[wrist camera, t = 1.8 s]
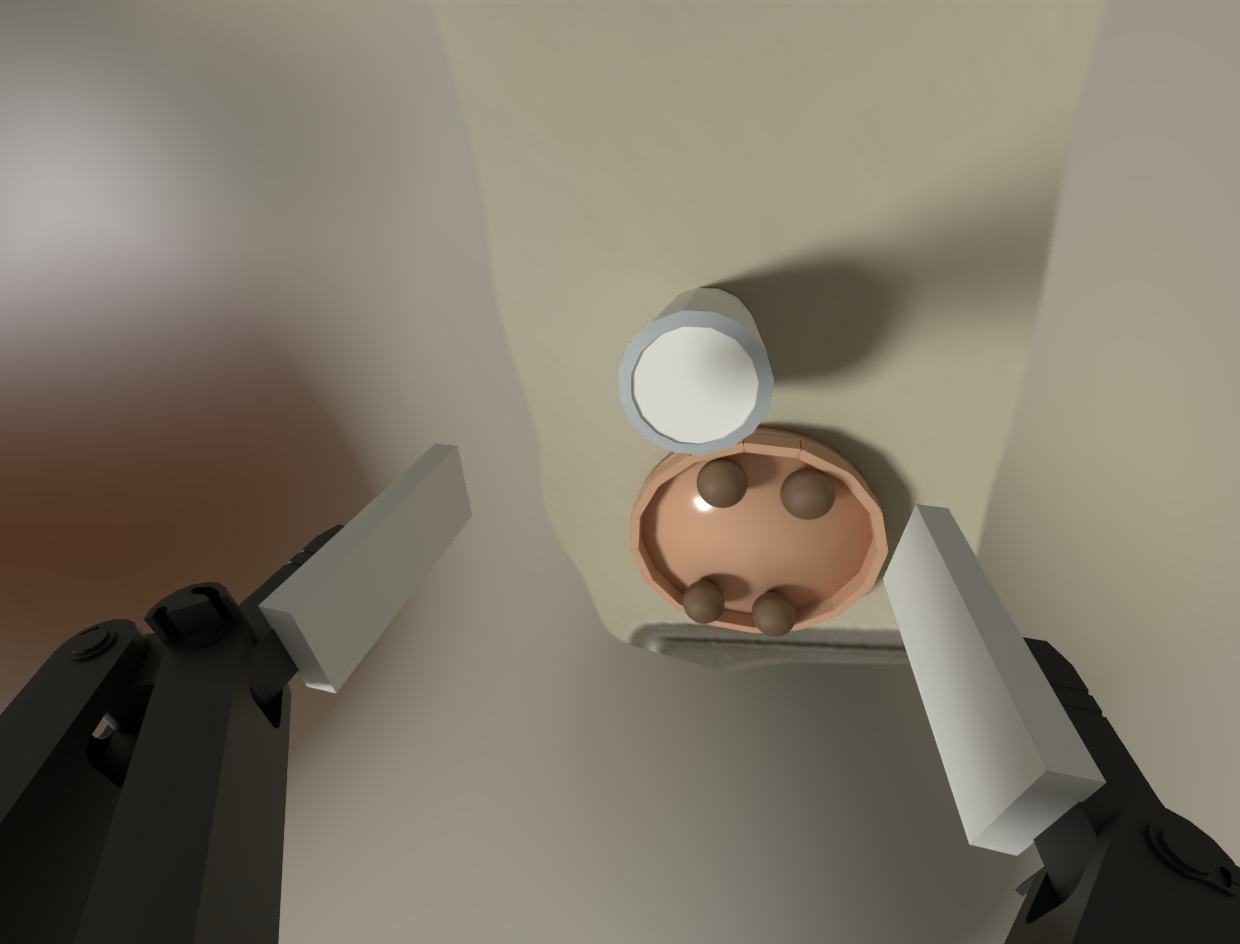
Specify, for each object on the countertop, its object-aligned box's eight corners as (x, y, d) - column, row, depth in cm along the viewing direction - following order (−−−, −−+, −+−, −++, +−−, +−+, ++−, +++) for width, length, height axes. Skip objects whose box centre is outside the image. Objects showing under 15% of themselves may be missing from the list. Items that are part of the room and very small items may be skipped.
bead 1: (701, 446, 29) (697, 472, 27) (751, 452, 29) (751, 479, 26) (696, 485, 31) (692, 514, 28) (743, 492, 30) (743, 521, 28)
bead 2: (686, 568, 35) (682, 599, 33) (728, 575, 34) (726, 607, 32) (683, 596, 37) (678, 628, 34) (722, 603, 36) (720, 636, 34)
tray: (639, 413, 30) (633, 430, 28) (915, 443, 27) (926, 463, 25) (634, 589, 39) (628, 610, 37) (840, 625, 36) (845, 649, 34)
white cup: (796, 327, 25) (810, 377, 19) (713, 417, 29) (704, 481, 23) (693, 246, 24) (676, 274, 18) (621, 351, 28) (589, 400, 22)
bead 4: (784, 455, 28) (787, 484, 26) (837, 461, 28) (846, 491, 25) (774, 496, 30) (777, 526, 27) (824, 502, 29) (831, 534, 27)
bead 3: (754, 580, 34) (755, 612, 32) (798, 587, 34) (802, 620, 31) (748, 608, 36) (748, 641, 33) (789, 615, 35) (792, 649, 33)
